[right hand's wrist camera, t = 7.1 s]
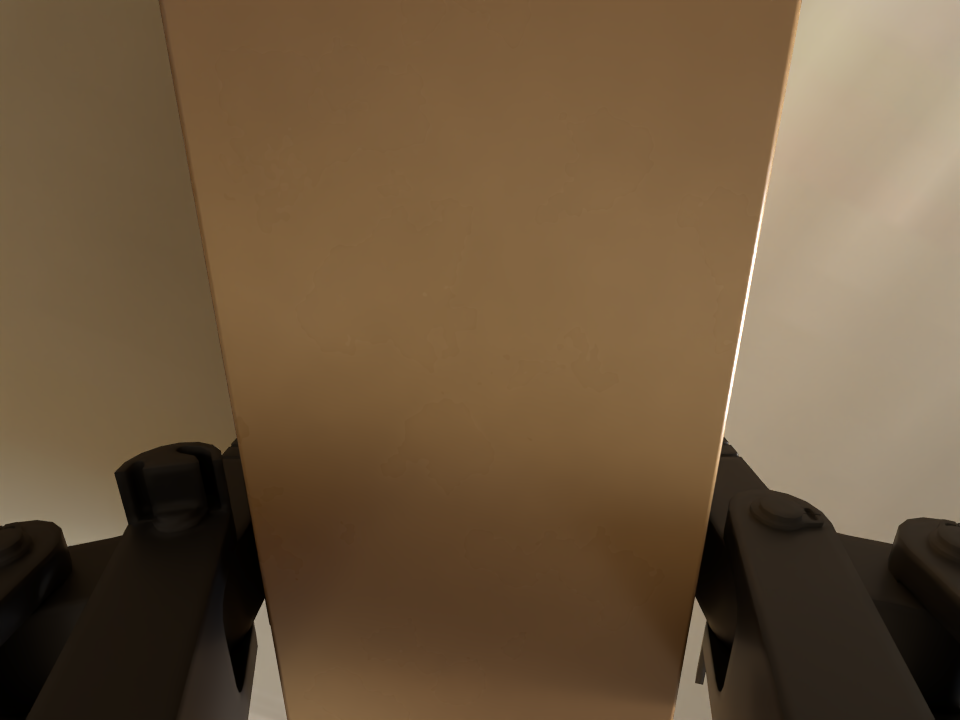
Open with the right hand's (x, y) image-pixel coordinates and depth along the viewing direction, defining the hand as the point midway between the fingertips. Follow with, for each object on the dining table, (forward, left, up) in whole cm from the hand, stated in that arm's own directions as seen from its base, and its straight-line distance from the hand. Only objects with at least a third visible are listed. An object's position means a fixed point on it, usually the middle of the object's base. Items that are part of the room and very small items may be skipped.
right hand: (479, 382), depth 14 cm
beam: (-11, +20, -1) cm, 23 cm away
